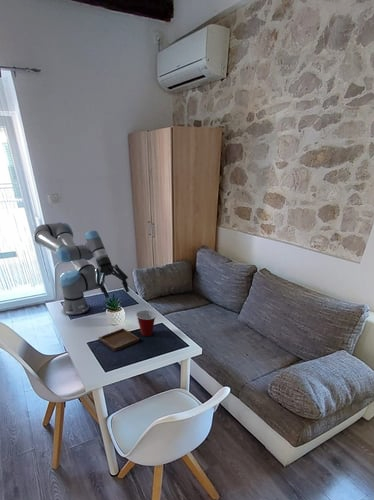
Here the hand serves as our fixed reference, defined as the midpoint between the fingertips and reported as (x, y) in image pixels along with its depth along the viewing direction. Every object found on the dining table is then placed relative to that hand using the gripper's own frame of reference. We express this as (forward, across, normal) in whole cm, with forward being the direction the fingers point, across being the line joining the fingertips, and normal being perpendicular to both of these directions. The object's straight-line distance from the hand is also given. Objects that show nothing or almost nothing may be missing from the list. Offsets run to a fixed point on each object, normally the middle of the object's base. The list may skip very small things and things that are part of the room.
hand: (117, 294), depth 176 cm
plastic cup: (+27, 0, -11) cm, 30 cm away
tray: (+25, -15, -8) cm, 30 cm away
